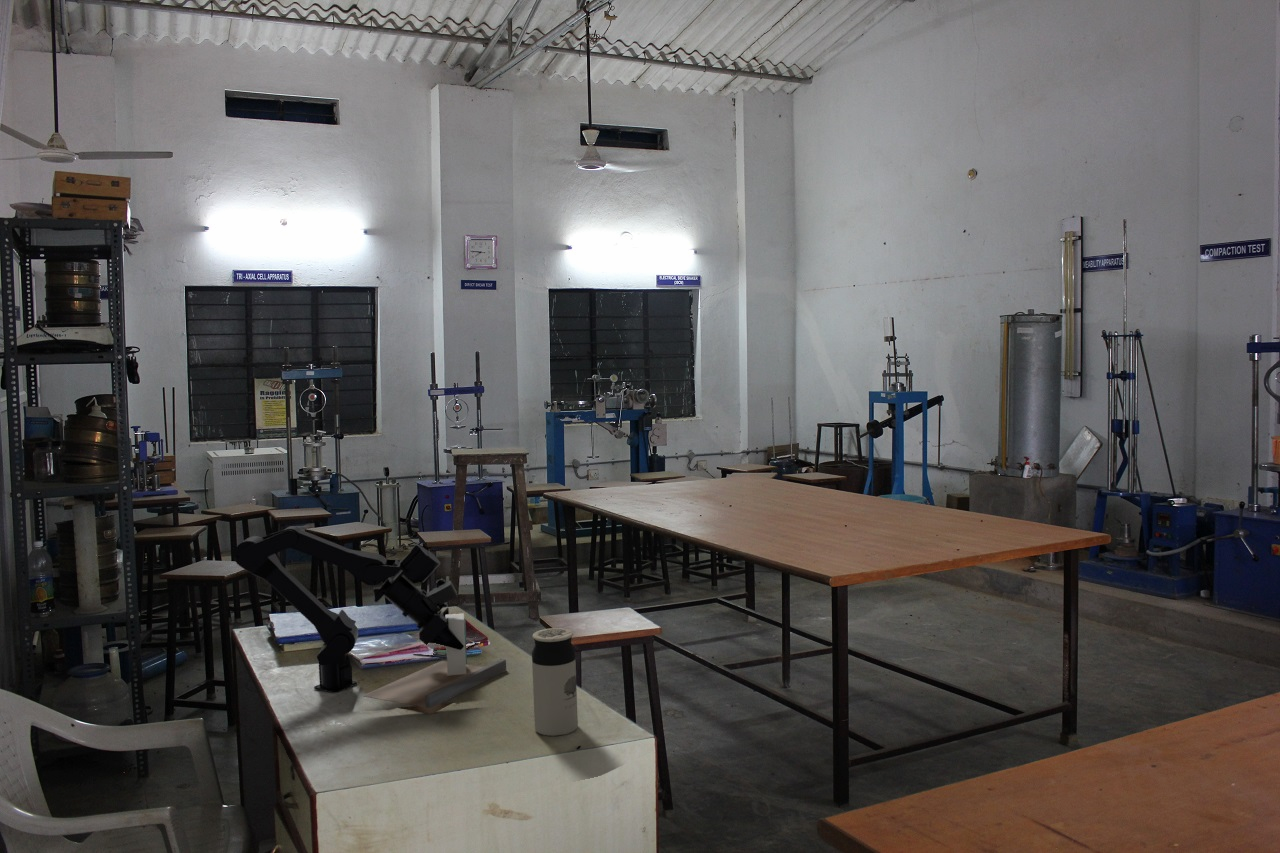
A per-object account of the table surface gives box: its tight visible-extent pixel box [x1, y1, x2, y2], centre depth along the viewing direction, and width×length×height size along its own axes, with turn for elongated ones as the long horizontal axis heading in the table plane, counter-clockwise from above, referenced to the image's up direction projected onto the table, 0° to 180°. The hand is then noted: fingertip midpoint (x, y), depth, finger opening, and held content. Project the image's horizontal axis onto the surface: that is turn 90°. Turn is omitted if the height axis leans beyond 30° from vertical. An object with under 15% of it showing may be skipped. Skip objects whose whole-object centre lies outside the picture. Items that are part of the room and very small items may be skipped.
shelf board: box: [362, 658, 507, 715], centre depth 202 cm, size 18×25×4 cm
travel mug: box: [531, 627, 579, 737], centre depth 176 cm, size 8×8×18 cm
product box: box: [445, 612, 468, 676], centre depth 209 cm, size 4×6×12 cm
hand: (462, 644), depth 209 cm, fingers closed on product box, 5 cm apart
